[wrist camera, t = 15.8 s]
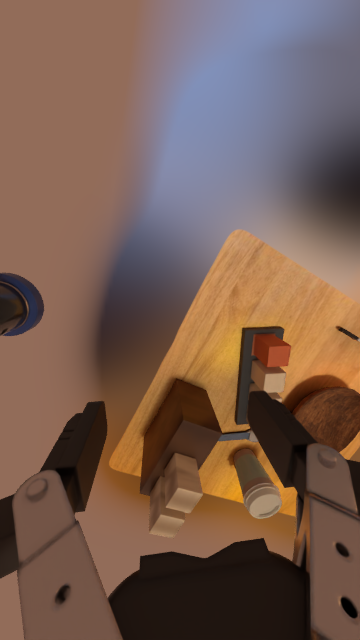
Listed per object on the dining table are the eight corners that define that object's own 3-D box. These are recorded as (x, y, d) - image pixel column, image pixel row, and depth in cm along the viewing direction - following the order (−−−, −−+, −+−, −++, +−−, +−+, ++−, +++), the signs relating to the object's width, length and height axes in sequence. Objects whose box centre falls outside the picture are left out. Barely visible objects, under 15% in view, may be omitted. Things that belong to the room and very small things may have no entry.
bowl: (363, 391, 54) (383, 403, 49) (316, 452, 58) (330, 469, 54) (307, 365, 50) (323, 376, 45) (261, 433, 54) (271, 449, 50)
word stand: (172, 445, 52) (180, 543, 34) (144, 436, 51) (136, 534, 32) (206, 390, 49) (234, 465, 31) (176, 378, 47) (188, 451, 29)
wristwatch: (287, 436, 55) (290, 439, 54) (216, 442, 53) (217, 446, 52) (290, 423, 54) (292, 426, 53) (217, 429, 52) (218, 432, 51)
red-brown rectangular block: (271, 353, 46) (288, 366, 40) (253, 354, 46) (267, 367, 40) (274, 335, 45) (291, 345, 39) (255, 335, 44) (269, 346, 39)
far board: (234, 420, 52) (246, 445, 45) (242, 328, 45) (258, 340, 38) (267, 417, 53) (285, 441, 46) (280, 326, 46) (302, 338, 39)
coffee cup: (226, 469, 57) (244, 521, 45) (231, 444, 54) (250, 493, 43) (255, 468, 58) (279, 519, 46) (261, 444, 55) (288, 491, 44)
